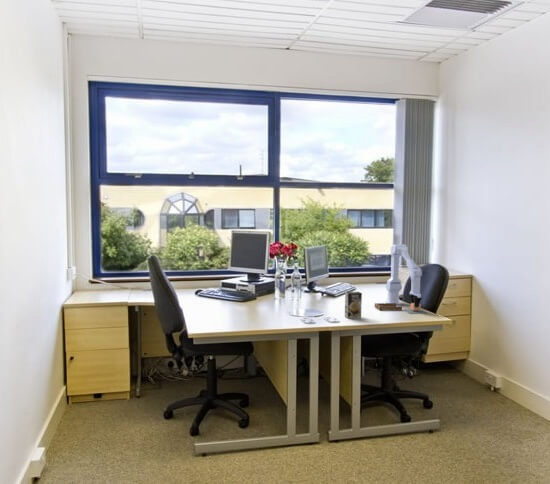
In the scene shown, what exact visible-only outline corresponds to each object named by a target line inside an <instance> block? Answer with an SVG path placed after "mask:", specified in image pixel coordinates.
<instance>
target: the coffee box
mask: <svg viewBox="0 0 550 484" xmlns="http://www.w3.org/2000/svg"><path fill="white" fill-rule="evenodd" d="M344 293H345V296H344V297H345V298H344V317H345V318H346V319H348V320H349V319H362V305H363V304H362V301H363V300H362V299H363V297H362V295H363V293H362V292H360V291H345V292H344Z"/></svg>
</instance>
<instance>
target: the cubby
mask: <svg viewBox="0 0 550 484" xmlns="http://www.w3.org/2000/svg"><path fill="white" fill-rule="evenodd" d="M374 308H376V309H377V310H379V311H380V312H382V311H381V310H390V311H403V306H398V304H397V303H387V302H383V303H382V302H380V303H375V302H374Z"/></svg>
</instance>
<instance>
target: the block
mask: <svg viewBox="0 0 550 484" xmlns="http://www.w3.org/2000/svg"><path fill="white" fill-rule="evenodd" d="M421 306H422V304H421V303H419V307H415V304H414V303H411V302H410V309H412V310H422V309H421V308H422V307H421Z"/></svg>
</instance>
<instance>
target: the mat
mask: <svg viewBox="0 0 550 484" xmlns="http://www.w3.org/2000/svg"><path fill="white" fill-rule="evenodd" d="M402 311H405V312H407V313H408V314H410V315H411V314H428V312H427V311H425V310H423V309H421V310H412V309H411V308H402Z"/></svg>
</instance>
